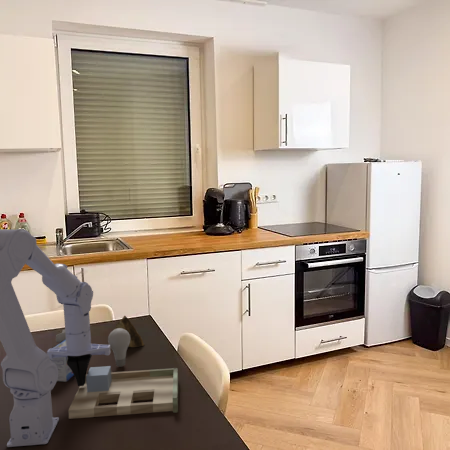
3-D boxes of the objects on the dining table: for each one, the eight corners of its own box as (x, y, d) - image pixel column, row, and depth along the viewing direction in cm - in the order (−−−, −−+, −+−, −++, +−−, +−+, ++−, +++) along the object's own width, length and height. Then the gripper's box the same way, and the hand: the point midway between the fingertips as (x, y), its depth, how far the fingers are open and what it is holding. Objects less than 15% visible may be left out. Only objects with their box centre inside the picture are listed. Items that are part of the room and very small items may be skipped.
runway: (177, 412, 103) (177, 397, 103) (68, 420, 101) (67, 405, 100) (178, 380, 118) (177, 368, 118) (83, 387, 116) (82, 374, 116)
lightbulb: (109, 372, 124) (107, 333, 123) (109, 363, 130) (107, 326, 129) (132, 369, 126) (130, 331, 125) (131, 361, 132) (129, 324, 130)
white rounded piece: (82, 323, 154) (93, 330, 141) (83, 338, 155) (95, 347, 142) (52, 328, 150) (61, 337, 137) (54, 344, 150) (63, 354, 137)
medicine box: (66, 382, 120) (64, 350, 119) (51, 381, 120) (48, 349, 119) (81, 369, 127) (79, 339, 126) (67, 368, 128) (64, 338, 127)
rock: (103, 334, 148) (108, 340, 139) (118, 310, 150) (124, 315, 141) (132, 349, 151) (138, 356, 142) (145, 326, 153) (153, 331, 144)
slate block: (108, 390, 110) (107, 374, 110) (87, 392, 110) (86, 376, 109) (111, 381, 115) (110, 366, 114) (91, 382, 114) (90, 367, 114)
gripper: (111, 323, 115) (114, 374, 116) (51, 326, 113) (55, 378, 115) (106, 332, 108) (110, 387, 109) (43, 336, 106) (47, 392, 108)
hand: (81, 384), depth 112 cm, fingers closed
